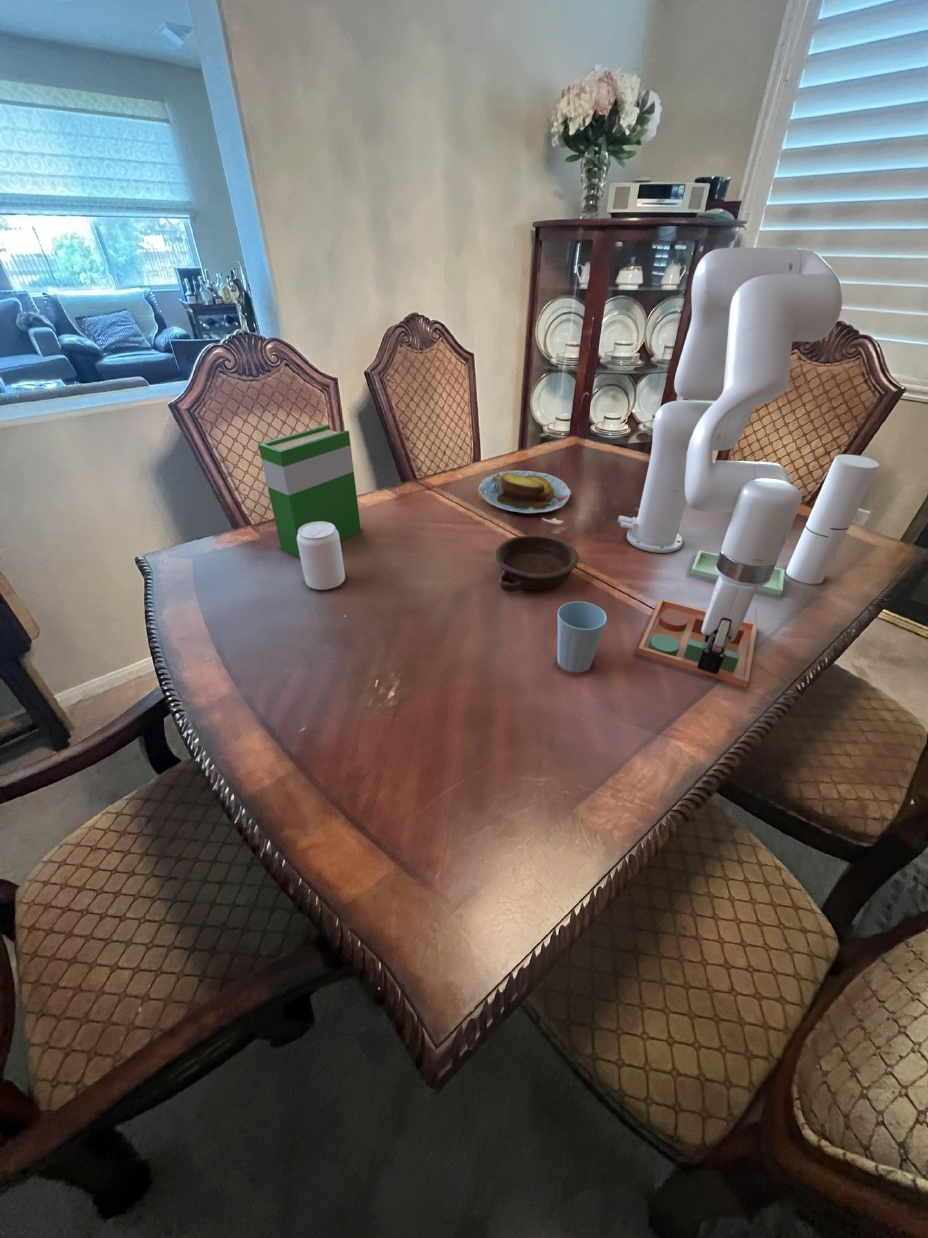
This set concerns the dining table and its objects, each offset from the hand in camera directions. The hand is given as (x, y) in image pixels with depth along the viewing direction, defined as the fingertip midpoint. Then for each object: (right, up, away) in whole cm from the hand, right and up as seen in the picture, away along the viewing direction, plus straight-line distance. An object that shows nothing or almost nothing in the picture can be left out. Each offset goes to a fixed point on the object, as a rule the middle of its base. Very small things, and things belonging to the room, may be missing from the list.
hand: (710, 656), depth 88 cm
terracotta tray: (0, +2, +6) cm, 6 cm away
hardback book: (-75, +25, +37) cm, 87 cm away
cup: (-23, -2, +1) cm, 23 cm away
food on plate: (-25, +39, +57) cm, 74 cm away
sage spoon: (-2, -1, +2) cm, 2 cm away
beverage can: (-70, +14, +22) cm, 75 cm away
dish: (-26, +16, +25) cm, 39 cm away
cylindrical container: (+32, +15, +25) cm, 44 cm away
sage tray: (+17, +15, +24) cm, 33 cm away
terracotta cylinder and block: (+2, +4, +7) cm, 9 cm away
